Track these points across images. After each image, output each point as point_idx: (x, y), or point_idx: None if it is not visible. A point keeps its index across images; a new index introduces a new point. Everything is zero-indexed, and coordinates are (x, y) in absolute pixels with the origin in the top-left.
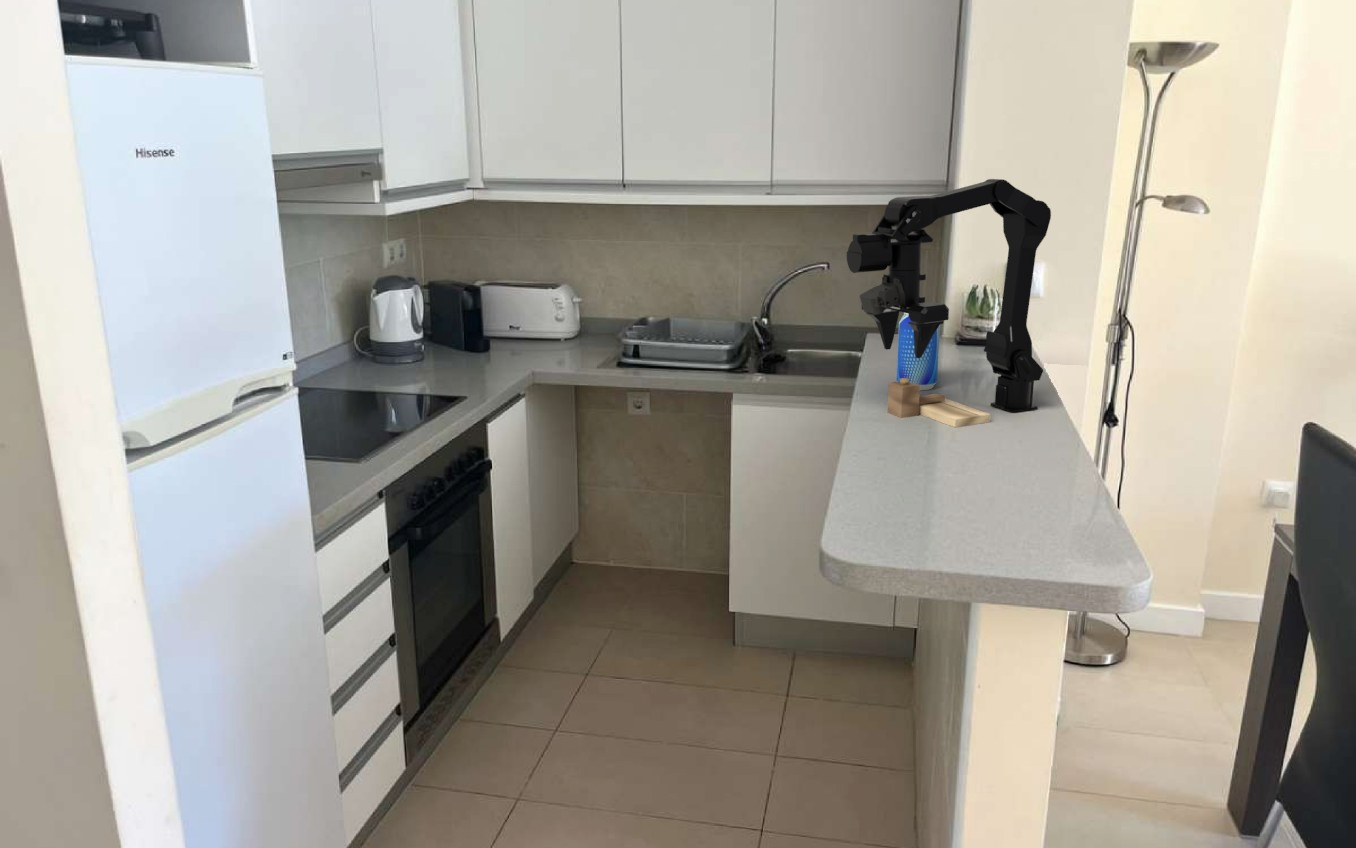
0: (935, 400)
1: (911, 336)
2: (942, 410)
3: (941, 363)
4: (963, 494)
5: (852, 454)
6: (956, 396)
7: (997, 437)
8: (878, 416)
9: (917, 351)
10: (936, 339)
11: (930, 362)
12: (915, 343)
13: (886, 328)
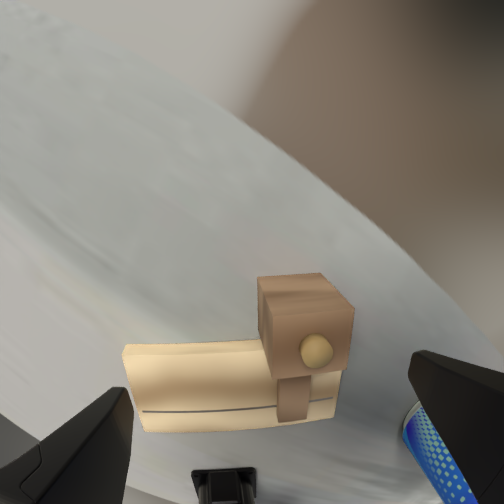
0: (277, 396)
1: None
2: (210, 375)
3: None
4: None
5: (49, 15)
6: (341, 447)
7: (45, 365)
8: (301, 230)
9: (88, 408)
10: (441, 497)
11: (423, 459)
12: (68, 436)
13: (491, 425)
